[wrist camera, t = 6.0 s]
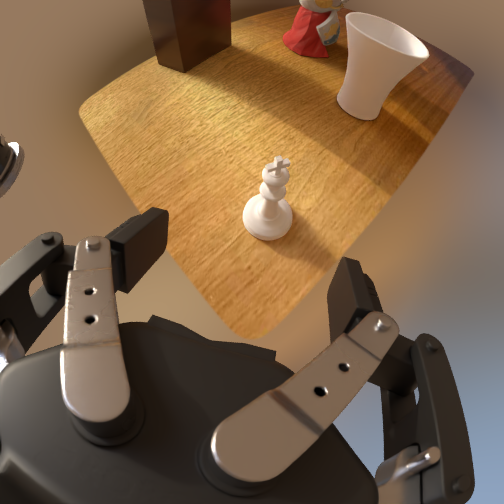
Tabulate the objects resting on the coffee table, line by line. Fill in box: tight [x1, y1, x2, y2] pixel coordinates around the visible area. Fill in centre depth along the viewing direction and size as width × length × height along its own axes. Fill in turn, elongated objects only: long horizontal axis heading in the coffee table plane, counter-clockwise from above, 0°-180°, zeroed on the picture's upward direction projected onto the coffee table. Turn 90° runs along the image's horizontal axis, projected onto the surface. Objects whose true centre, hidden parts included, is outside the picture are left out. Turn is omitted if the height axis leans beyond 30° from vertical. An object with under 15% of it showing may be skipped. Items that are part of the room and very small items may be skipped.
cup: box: [337, 12, 429, 120], centre depth 26 cm, size 10×10×14 cm
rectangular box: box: [143, 0, 231, 73], centre depth 25 cm, size 11×6×20 cm, turn 142°
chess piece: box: [243, 155, 292, 240], centre depth 22 cm, size 5×5×10 cm
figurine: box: [283, 0, 349, 58], centre depth 30 cm, size 13×11×15 cm
